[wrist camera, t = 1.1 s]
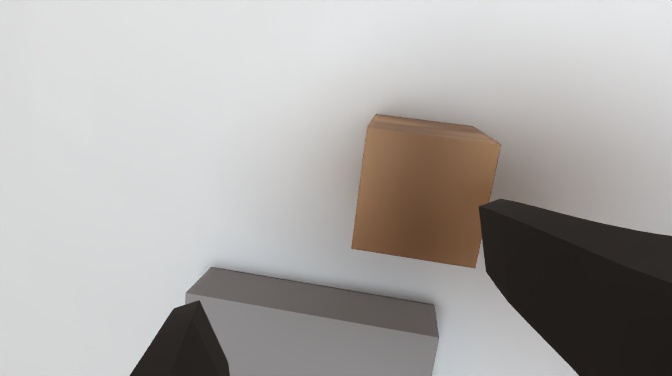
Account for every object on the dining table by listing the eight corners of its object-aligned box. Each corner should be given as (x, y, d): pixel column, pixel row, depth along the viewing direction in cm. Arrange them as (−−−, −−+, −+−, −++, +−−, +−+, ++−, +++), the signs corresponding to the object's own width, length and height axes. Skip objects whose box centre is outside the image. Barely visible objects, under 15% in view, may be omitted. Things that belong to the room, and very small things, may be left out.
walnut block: (472, 126, 21) (501, 144, 15) (455, 218, 22) (475, 268, 16) (376, 114, 21) (367, 127, 15) (364, 204, 22) (351, 248, 16)
